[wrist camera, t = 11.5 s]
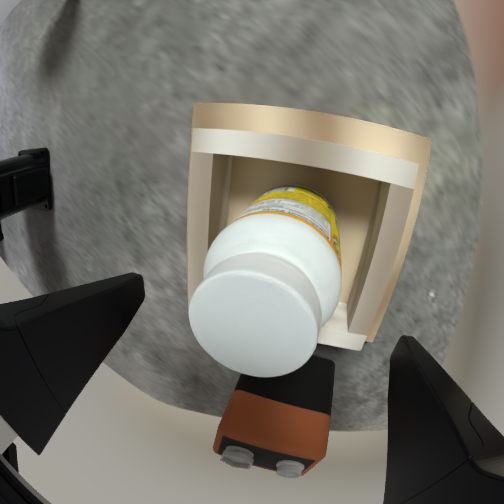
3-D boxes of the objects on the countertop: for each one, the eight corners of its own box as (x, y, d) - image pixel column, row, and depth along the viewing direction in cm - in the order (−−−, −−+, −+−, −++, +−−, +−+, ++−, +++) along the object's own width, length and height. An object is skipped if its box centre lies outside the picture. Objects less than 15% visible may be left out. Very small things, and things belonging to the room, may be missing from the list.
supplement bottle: (273, 166, 15) (199, 206, 7) (356, 213, 15) (383, 308, 7) (236, 243, 18) (154, 339, 9) (310, 284, 18) (284, 408, 9)
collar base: (193, 294, 22) (168, 323, 18) (200, 104, 16) (167, 98, 12) (371, 333, 19) (375, 372, 15) (426, 139, 13) (453, 141, 9)
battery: (256, 335, 22) (211, 440, 13) (337, 358, 21) (325, 470, 12) (246, 369, 24) (206, 462, 15) (318, 389, 23) (300, 488, 14)
